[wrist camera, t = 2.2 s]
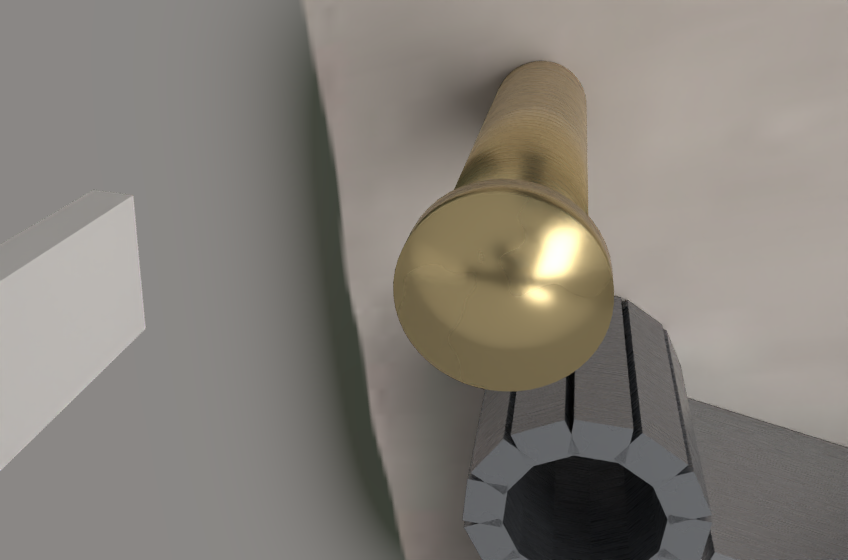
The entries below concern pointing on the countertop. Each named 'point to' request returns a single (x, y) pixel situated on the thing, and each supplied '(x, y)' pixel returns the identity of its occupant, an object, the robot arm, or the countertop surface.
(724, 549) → the hinge leaf swing
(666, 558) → the hinge leaf fixed
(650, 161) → the countertop surface
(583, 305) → the pin
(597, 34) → the countertop surface
